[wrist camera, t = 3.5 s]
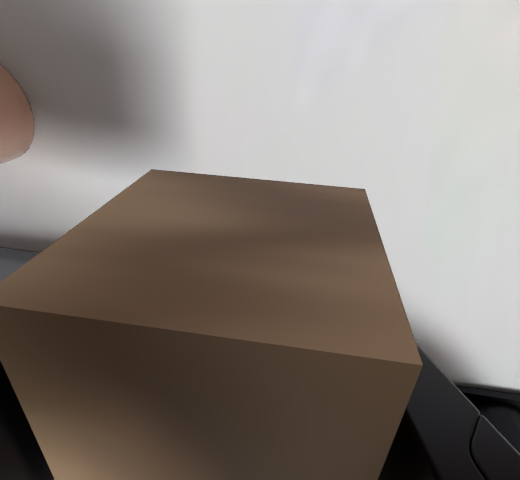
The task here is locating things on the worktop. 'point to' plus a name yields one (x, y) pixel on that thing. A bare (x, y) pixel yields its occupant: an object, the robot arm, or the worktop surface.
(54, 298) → the walnut cube
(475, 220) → the worktop surface
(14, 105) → the terracotta cylinder
